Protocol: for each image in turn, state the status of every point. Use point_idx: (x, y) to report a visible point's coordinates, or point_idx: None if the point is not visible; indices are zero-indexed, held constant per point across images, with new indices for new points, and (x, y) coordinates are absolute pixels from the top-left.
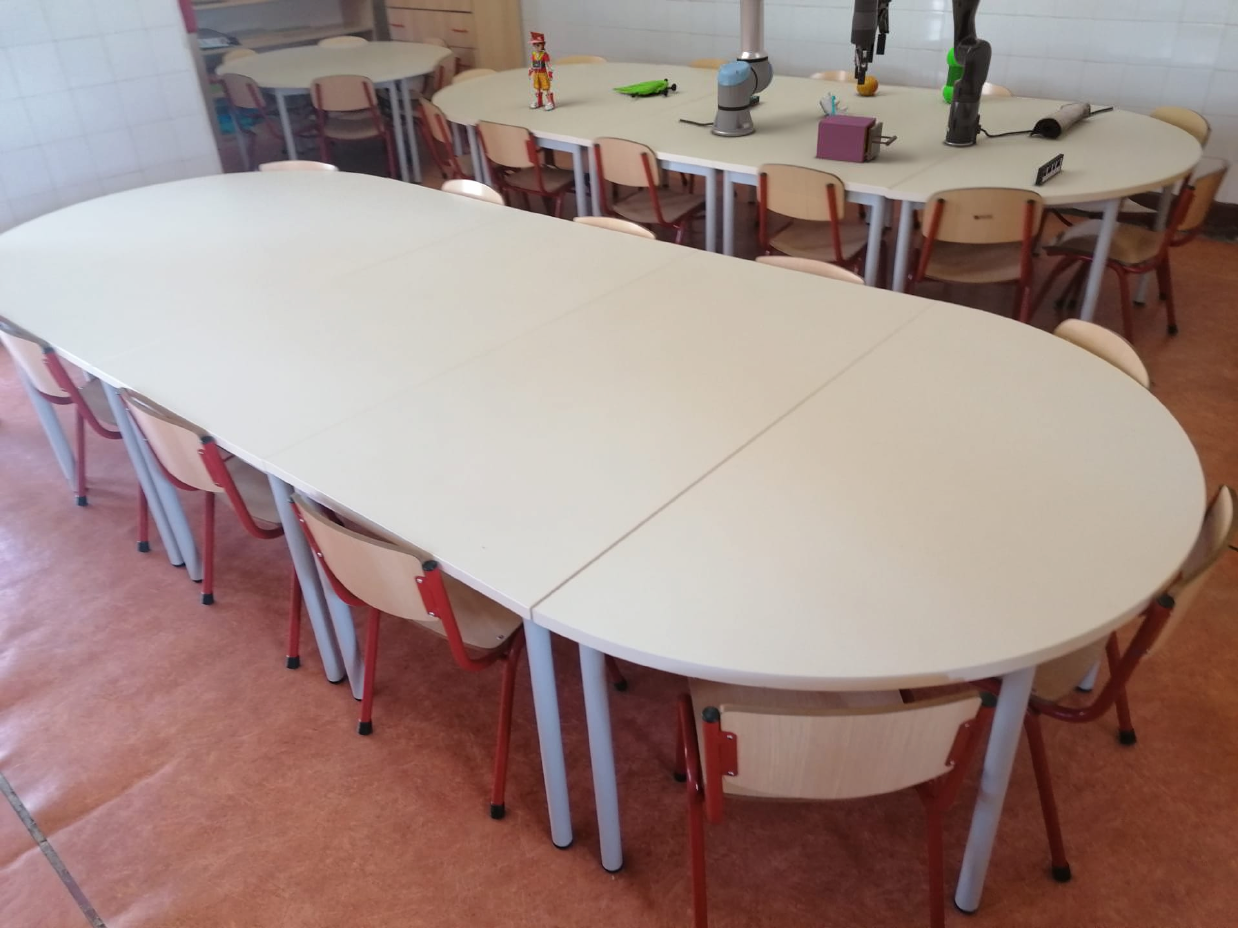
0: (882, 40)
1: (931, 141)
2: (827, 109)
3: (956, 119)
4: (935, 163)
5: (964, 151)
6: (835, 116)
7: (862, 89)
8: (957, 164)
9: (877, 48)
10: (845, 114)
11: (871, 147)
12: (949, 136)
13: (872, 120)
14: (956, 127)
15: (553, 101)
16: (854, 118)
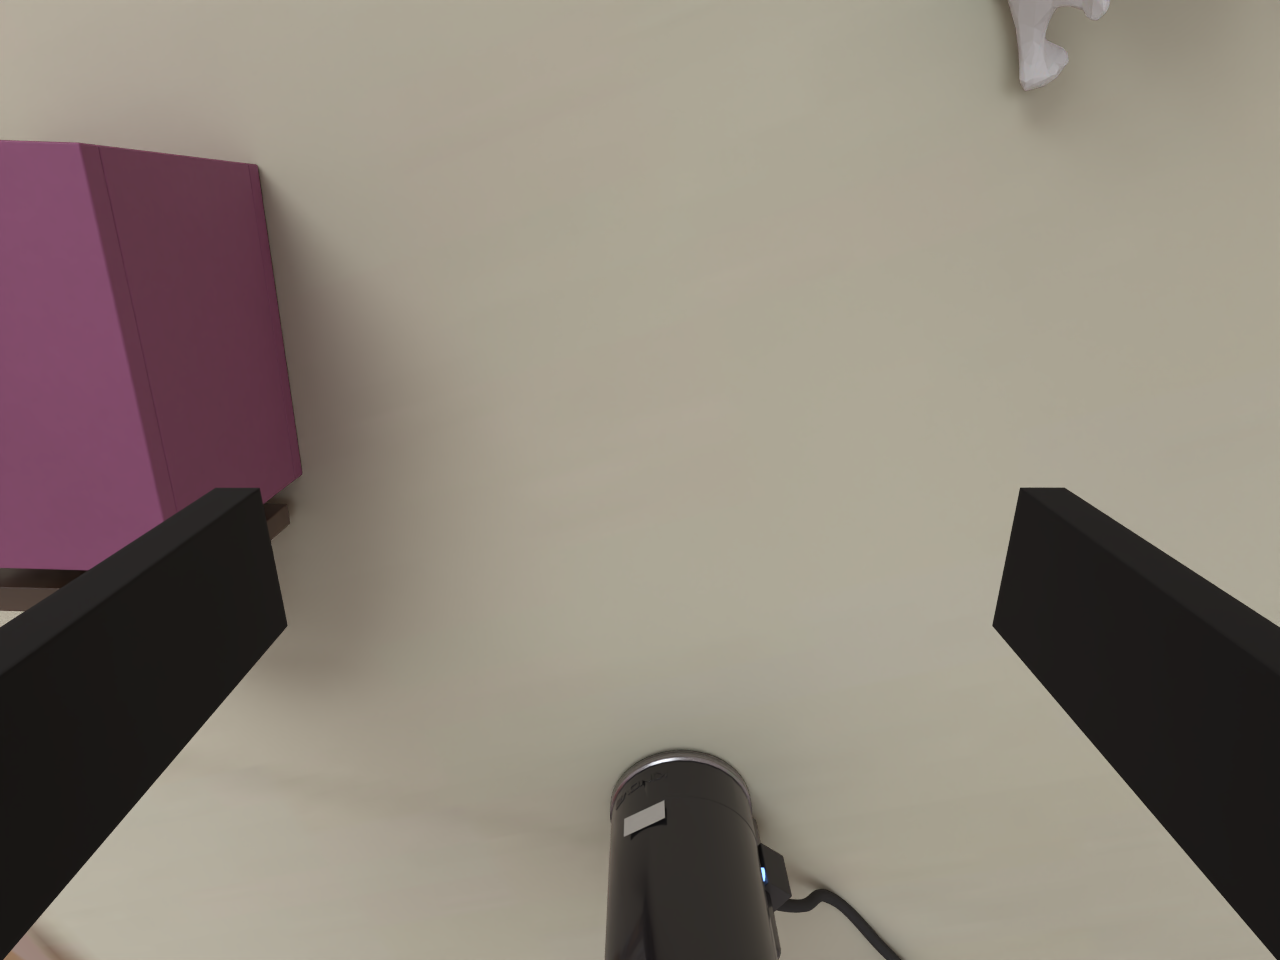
0: (1200, 771)
1: (677, 689)
2: None
3: (609, 911)
4: (305, 782)
5: (554, 845)
6: (23, 225)
7: None
8: (338, 857)
9: (1094, 558)
10: (1053, 11)
11: None
12: (625, 806)
13: (91, 567)
14: (609, 877)
15: None
16: (63, 417)
